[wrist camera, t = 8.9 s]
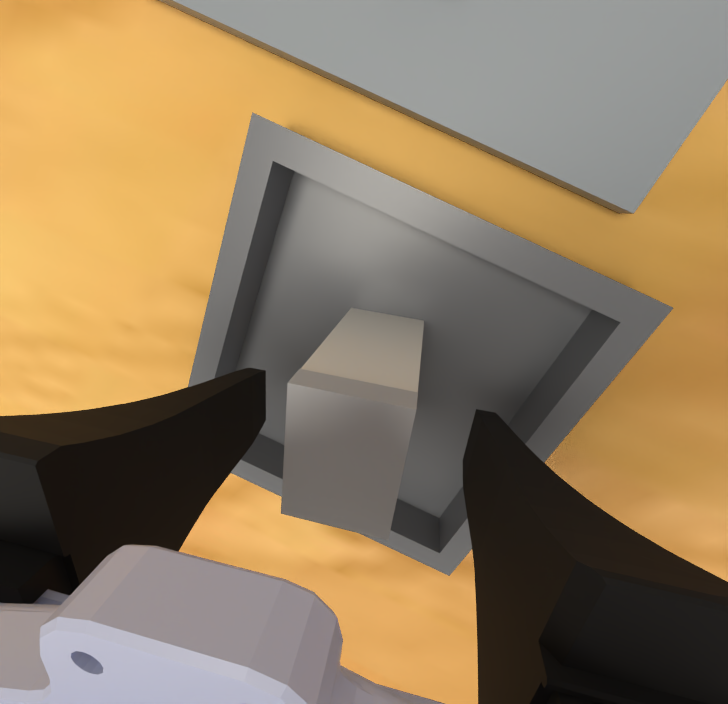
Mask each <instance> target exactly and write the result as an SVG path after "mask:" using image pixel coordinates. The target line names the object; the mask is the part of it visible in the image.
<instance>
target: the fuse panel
mask: <svg viewBox="0 0 728 704" xmlns="http://www.w3.org/2000/svg"><path fill="white" fill-rule="evenodd" d="M159 1H161V2H163V3H166V4H168V5H170V6H172V7H174V8H176V9H179V10H181V11H183V12H185V13H187V14H189V15H192V16H194V17H196V18H198V19H200V20H202V21H205V22H207V23H209V24H211V25H213V26H215V27H218V28H220V29H222V30H224V31H226V32H228V33H231V34H233V35H235V36H237V37H239V38H241V39H243V40H246V41H248V42H250V43H252V44H254V45H256V46H259V47H261V48H263V49H265V50H267V51H269V52H272V53H274V54H276V55H278V56H280V57H282V58H285V59H287V60H289V61H291V62H293V63H295V64H298V65H300V66H302V67H304V68H306V69H308V70H311V71H313V72H315V73H317V74H319V75H321V76H323V77H326V78H328V79H330V80H332V81H334V82H336V83H339V84H341V85H343V86H345V87H347V88H349V89H352V90H354V91H356V92H358V93H360V94H362V95H365V96H367V97H369V98H371V99H373V100H375V101H378V102H380V103H382V104H384V105H386V106H388V107H391V108H393V109H395V110H397V111H399V112H401V113H403V114H406V115H408V116H410V117H412V118H414V119H416V120H419V121H421V122H423V123H425V124H427V125H429V126H432V127H434V128H436V129H438V130H440V131H442V132H445V133H447V134H449V135H451V136H453V137H455V138H458V139H460V140H462V141H464V142H466V143H468V144H471V145H473V146H475V147H477V148H479V149H481V150H483V151H486V152H488V153H490V154H492V155H494V156H496V157H499V158H501V159H503V160H505V161H507V162H509V163H512V164H514V165H516V166H518V167H520V168H522V169H525V170H527V171H529V172H531V173H533V174H535V175H538V176H540V177H542V178H544V179H546V180H548V181H551V182H553V183H555V184H557V185H559V186H561V187H563V188H566V189H568V190H570V191H572V192H574V193H576V194H579V195H581V196H583V197H585V198H587V199H589V200H592V201H594V202H596V203H598V204H600V205H602V206H605V207H607V208H609V209H611V210H613V211H615V212H618V213H633V214H634V212H635V211H636V209H637V208H638V207H639V205H640V204H641V202H642V201H643V199H644V198H645V197H646V195H647V194H648V192H649V191H650V189H651V188H652V187H653V185H654V184H655V182H656V181H657V179H658V178H659V177H660V175H661V174H662V172H663V171H664V169H665V168H666V167H667V165H668V164H669V162H670V161H671V159H672V158H673V157H674V155H675V154H676V152H677V151H678V149H679V148H680V147H681V145H682V144H683V142H684V141H685V139H686V138H687V137H688V135H689V134H690V132H691V131H692V129H693V128H694V127H695V125H696V124H697V122H698V121H699V119H700V118H701V117H702V115H703V114H704V112H705V111H706V109H707V108H708V107H709V105H710V104H711V102H712V101H713V99H714V98H715V97H716V95H717V94H718V92H719V91H720V89H721V88H722V87H723V85H724V84H725V82H726V81H727V79H728V0H159Z"/></svg>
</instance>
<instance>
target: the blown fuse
mask: <svg viewBox="0 0 728 704" xmlns="http://www.w3.org/2000/svg"><path fill="white" fill-rule="evenodd" d="M423 328H424V321H423V320H417V319H412V318H406V317H400V316H395V315H389V314H383V313H378V312H372V311H366V310H361V309H355V308H351V309H350V310H349V311H348V312H347V314H346V315H345V316H344V317H343V318H342V320H341V321H340V322H339V323H338V324H337V326H336V327H335V328H334V329H333V330H332V332H331V333H330V334H329V335H328V336H327V338H326V339H325V340H324V341H323V342H322V344H321V345H320V346H319V347H318V349H317V350H316V351H315V352H314V353H313V355H312V356H311V357H310V358H309V359H308V361H307V362H306V363H305V364H304V365H303V367H302V368H301V369H299V370H298V371H297V372H296V373H295V375H294V376H293V377H292V378H291V379H290V381H289V382H288V384H287V404H286V424H285V444H284V463H283V483H282V503H281V514H285V515H289V516H293V517H297V518H301V519H305V520H309V521H313V522H317V523H321V524H325V525H329V526H333V527H337V528H341V529H345V530H349V531H353V532H357V533H361V534H365V535H369V536H373V537H377V538H381V539H385V540H388V538H389V534H390V529H391V524H392V520H393V515H394V510H395V506H396V501H397V497H398V492H399V487H400V483H401V478H402V474H403V469H404V464H405V460H406V455H407V451H408V446H409V441H410V437H411V432H412V428H413V423H414V418H415V414H416V409H417V398H418V384H419V373H420V362H421V351H422V339H423Z"/></svg>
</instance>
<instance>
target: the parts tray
mask: <svg viewBox="0 0 728 704" xmlns="http://www.w3.org/2000/svg"><path fill="white" fill-rule="evenodd" d="M351 308H355V309H361V310H366V311H372V312H378V313H383V314H389V315H395V316H400V317H406V318H412V319H417V320H423V321H424V328H423V339H422V351H421V362H420V373H419V384H418V398H417V409H416V414H415V418H414V423H413V428H412V432H411V437H410V441H409V446H408V451H407V455H406V460H405V464H404V469H403V474H402V478H401V483H400V487H399V492H398V497H397V501H396V506H395V510H394V515H393V520H392V524H391V529H390V534H389V538H388V540H385V539H381V538H377V537H373V536H369V535H365V534H362V535H364V536H366V537H368V538H370V539H372V540H374V541H377V542H379V543H381V544H383V545H385V546H387V547H389V548H391V549H394V550H396V551H398V552H400V553H402V554H404V555H406V556H408V557H411V558H413V559H415V560H417V561H419V562H421V563H423V564H425V565H427V566H430V567H432V568H434V569H436V570H438V571H440V572H442V573H444V574H447V575H449V576H450V574H451V573H452V572H453V571H454V570H455V568H456V567H457V566H458V565H459V564H460V562H461V561H462V560H463V559H464V558H465V556H466V555H467V554H468V553H469V552H470V550H471V549H472V544H471V537H470V531H469V524H468V518H467V511H466V505H465V498H464V491H463V457H464V453H465V449H466V445H467V442H468V438H469V434H470V430H471V427H472V423H473V419H474V415H475V411H476V409H478V410H484V411H489V412H495V413H496V414H498V415H499V416H500V417H501V419H502V420H503V421H504V422H505V423H506V424H507V425H508V426H509V427H510V428H511V429H512V431H513V432H514V433H515V434H516V435H517V436H518V437H519V438H520V439H521V440H522V441H523V442H524V443H525V444H526V446H527V447H528V448H529V449H530V450H531V451H532V452H533V453H534V454H535V455H536V456H537V457H538V458H539V459H540V460H542V461H543V462H545V461H546V460H547V459H548V457H549V456H550V455H551V454H552V453H553V451H554V450H555V449H556V448H557V447H558V445H559V444H560V443H561V442H562V441H563V439H564V438H565V437H566V436H567V435H568V433H569V432H570V431H571V430H572V429H573V427H574V426H575V425H576V424H577V423H578V421H579V420H580V419H581V418H582V417H583V416H584V414H585V413H586V412H587V411H588V410H589V408H590V407H591V406H592V405H593V404H594V402H595V401H596V400H597V399H598V398H599V396H600V395H601V394H602V393H603V392H604V390H605V389H606V388H607V387H608V386H609V384H610V383H611V382H612V381H613V380H614V378H615V377H616V376H617V375H618V374H619V372H620V371H621V370H622V369H623V368H624V367H625V365H626V364H627V363H628V362H629V361H630V359H631V358H632V357H633V356H634V355H635V353H636V352H637V351H638V350H639V349H640V347H641V346H642V345H643V344H644V343H645V341H646V340H647V339H648V338H649V337H650V335H651V334H652V333H653V332H654V331H655V329H656V328H657V327H658V326H659V325H660V324H661V322H662V321H663V320H664V319H665V318H666V316H667V315H668V314H669V313H670V312H671V310H672V309H673V307H670V306H668V305H666V304H664V303H662V302H660V301H658V300H655V299H653V298H651V297H649V296H647V295H645V294H642V293H640V292H638V291H636V290H634V289H632V288H630V287H627V286H625V285H623V284H621V283H619V282H617V281H614V280H612V279H610V278H608V277H606V276H604V275H601V274H599V273H597V272H595V271H593V270H591V269H589V268H586V267H584V266H582V265H580V264H578V263H576V262H573V261H571V260H569V259H567V258H565V257H563V256H561V255H558V254H556V253H554V252H552V251H550V250H548V249H545V248H543V247H541V246H539V245H537V244H535V243H533V242H530V241H528V240H526V239H524V238H522V237H520V236H517V235H515V234H513V233H511V232H509V231H507V230H504V229H502V228H500V227H498V226H496V225H494V224H492V223H489V222H487V221H485V220H483V219H481V218H479V217H476V216H474V215H472V214H470V213H468V212H466V211H464V210H461V209H459V208H457V207H455V206H453V205H451V204H448V203H446V202H444V201H442V200H440V199H438V198H436V197H433V196H431V195H429V194H427V193H425V192H423V191H420V190H418V189H416V188H414V187H412V186H410V185H407V184H405V183H403V182H401V181H399V180H397V179H395V178H392V177H390V176H388V175H386V174H384V173H382V172H379V171H377V170H375V169H373V168H371V167H369V166H367V165H364V164H362V163H360V162H358V161H356V160H354V159H351V158H349V157H347V156H345V155H343V154H341V153H339V152H336V151H334V150H332V149H330V148H328V147H326V146H323V145H321V144H319V143H317V142H315V141H313V140H311V139H308V138H306V137H304V136H302V135H300V134H298V133H295V132H293V131H291V130H289V129H287V128H285V127H282V126H280V125H278V124H276V123H274V122H272V121H270V120H267V119H265V118H263V117H261V116H259V115H257V114H254V113H252V116H251V121H250V125H249V129H248V133H247V138H246V142H245V146H244V150H243V155H242V159H241V163H240V167H239V172H238V176H237V180H236V184H235V189H234V193H233V197H232V201H231V206H230V210H229V214H228V219H227V223H226V227H225V231H224V236H223V240H222V244H221V248H220V253H219V257H218V261H217V265H216V270H215V274H214V278H213V282H212V287H211V291H210V295H209V300H208V304H207V308H206V312H205V317H204V321H203V325H202V329H201V334H200V338H199V342H198V346H197V351H196V355H195V359H194V363H193V368H192V372H191V376H190V380H189V385H188V387H191V386H194V385H197V384H200V383H203V382H206V381H209V380H211V379H214V378H217V377H220V376H223V375H226V374H229V373H232V372H235V371H238V370H241V369H245V368H255V369H260V370H266V421H265V423H264V425H263V427H262V428H261V430H260V432H259V434H258V436H257V437H256V439H255V441H254V442H253V444H252V445H251V447H250V448H249V449H248V451H247V452H246V453H245V455H244V456H243V457H242V459H241V460H240V461H239V462H238V464H237V465H236V466H235V468H234V469H233V470H232V471H231V473H232V474H235V475H237V476H239V477H241V478H243V479H245V480H247V481H249V482H252V483H254V484H256V485H258V486H260V487H262V488H264V489H266V490H268V491H271V492H273V493H275V494H277V495H279V496H281V497H282V483H283V463H284V444H285V424H286V404H287V384H288V382H289V381H290V379H291V378H292V377H293V376H294V375H295V373H296V372H297V371H298V370H299V369H301V368H302V367H303V365H304V364H305V363H306V362H307V361H308V359H309V358H310V357H311V356H312V355H313V353H314V352H315V351H316V350H317V349H318V347H319V346H320V345H321V344H322V342H323V341H324V340H325V339H326V338H327V336H328V335H329V334H330V333H331V332H332V330H333V329H334V328H335V327H336V326H337V324H338V323H339V322H340V321H341V320H342V318H343V317H344V316H345V315H346V314H347V312H348V311H349V310H350V309H351ZM360 534H361V533H360Z"/></svg>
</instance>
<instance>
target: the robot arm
mask: <svg viewBox="0 0 728 704" xmlns="http://www.w3.org/2000/svg"><path fill="white" fill-rule="evenodd" d="M265 421H266V370H260V369H255V368H245V369H241V370H238V371H235V372H232V373H229V374H226V375H223V376H220V377H217V378H214V379H211V380H209V381H206V382H203V383H200V384H197V385H194V386H191V387H187V388H184V389H181V390H178V391H175V392H171V393H168V394H164V395H161V396H157V397H153V398H149V399H144V400H140V401H136V402H131V403H126V404H120V405H114V406H108V407H102V408H96V409H89V410H81V411H72V412H62V413H52V414H39V415H18V416H0V704H444V703H441V702H437V701H434V700H431V699H427V698H424V697H420V696H417V695H413V694H410V693H406V692H403V691H399V690H396V689H392V688H389V687H385V686H382V685H379V684H375V683H373V682H372V681H370V680H368V679H366V678H364V677H362V676H360V675H358V674H356V673H354V672H352V671H350V670H348V669H346V668H344V667H343V666H341V665H340V658H341V650H342V643H343V638H342V634H341V631H340V627H339V623H338V619H337V617H336V615H335V614H334V612H333V611H332V610H331V609H330V608H329V607H328V606H327V605H326V604H325V603H324V602H323V601H322V600H321V599H320V598H319V597H318V596H317V595H316V594H315V593H314V592H312V591H310V590H308V589H306V588H304V587H301V586H299V585H297V584H295V583H292V582H290V581H288V580H286V579H282V578H278V577H274V576H270V575H267V574H263V573H259V572H255V571H251V570H247V569H243V568H240V567H236V566H232V565H228V564H224V563H220V562H216V561H213V560H209V559H205V558H201V557H197V556H193V555H189V554H186V553H182V552H178V551H179V549H180V548H181V546H182V544H183V542H184V541H185V539H186V537H187V536H188V534H189V532H190V530H191V529H192V527H193V526H194V524H195V522H196V521H197V519H198V518H199V516H200V514H201V513H202V511H203V510H204V508H205V506H206V505H207V503H208V502H209V500H210V499H211V498H212V496H213V495H214V493H215V492H216V491H217V489H218V488H219V487H220V486H221V484H222V483H223V482H224V480H225V479H226V478H227V477H228V475H229V474H230V473H231V471H232V470H233V469H234V468H235V466H236V465H237V464H238V462H239V461H240V460H241V459H242V457H243V456H244V455H245V453H246V452H247V451H248V449H249V448H250V447H251V445H252V444H253V442H254V441H255V439H256V437H257V436H258V434H259V432H260V430H261V428H262V427H263V425H264V423H265ZM463 491H464V498H465V505H466V511H467V518H468V524H469V531H470V537H471V544H472V550H473V558H474V568H475V588H476V611H477V640H478V704H728V582H727V581H725V580H723V579H721V578H719V577H717V576H715V575H713V574H711V573H709V572H707V571H705V570H703V569H702V568H700V567H698V566H696V565H694V564H692V563H690V562H688V561H686V560H684V559H682V558H680V557H678V556H677V555H675V554H673V553H671V552H669V551H667V550H666V549H664V548H662V547H661V546H659V545H657V544H655V543H654V542H652V541H650V540H649V539H647V538H645V537H644V536H642V535H640V534H638V533H637V532H635V531H634V530H632V529H631V528H629V527H627V526H626V525H624V524H623V523H621V522H619V521H618V520H617V519H615V518H614V517H612V516H611V515H609V514H608V513H606V512H605V511H603V510H602V509H600V508H599V507H597V506H596V505H595V504H593V503H592V502H591V501H589V500H588V499H586V498H585V497H584V496H583V495H581V494H580V493H579V492H577V491H576V490H575V489H574V488H572V487H571V486H570V485H569V484H567V483H566V482H565V481H564V480H563V479H561V478H560V477H559V476H558V475H557V474H556V473H554V472H553V471H552V470H551V469H550V468H549V467H548V466H547V465H546V464H545V463H544V462H543V461H542V460H540V459H539V458H538V457H537V456H536V455H535V454H534V453H533V452H532V451H531V450H530V449H529V448H528V447H527V446H526V444H525V443H524V442H523V441H522V440H521V439H520V438H519V437H518V436H517V435H516V434H515V433H514V432H513V431H512V429H511V428H510V427H509V426H508V425H507V424H506V423H505V422H504V421H503V420H502V419H501V417H500V416H499V415H498V414H496V413H495V412H489V411H484V410H478V409H476V411H475V415H474V419H473V423H472V427H471V430H470V434H469V438H468V442H467V445H466V449H465V453H464V457H463Z"/></svg>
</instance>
